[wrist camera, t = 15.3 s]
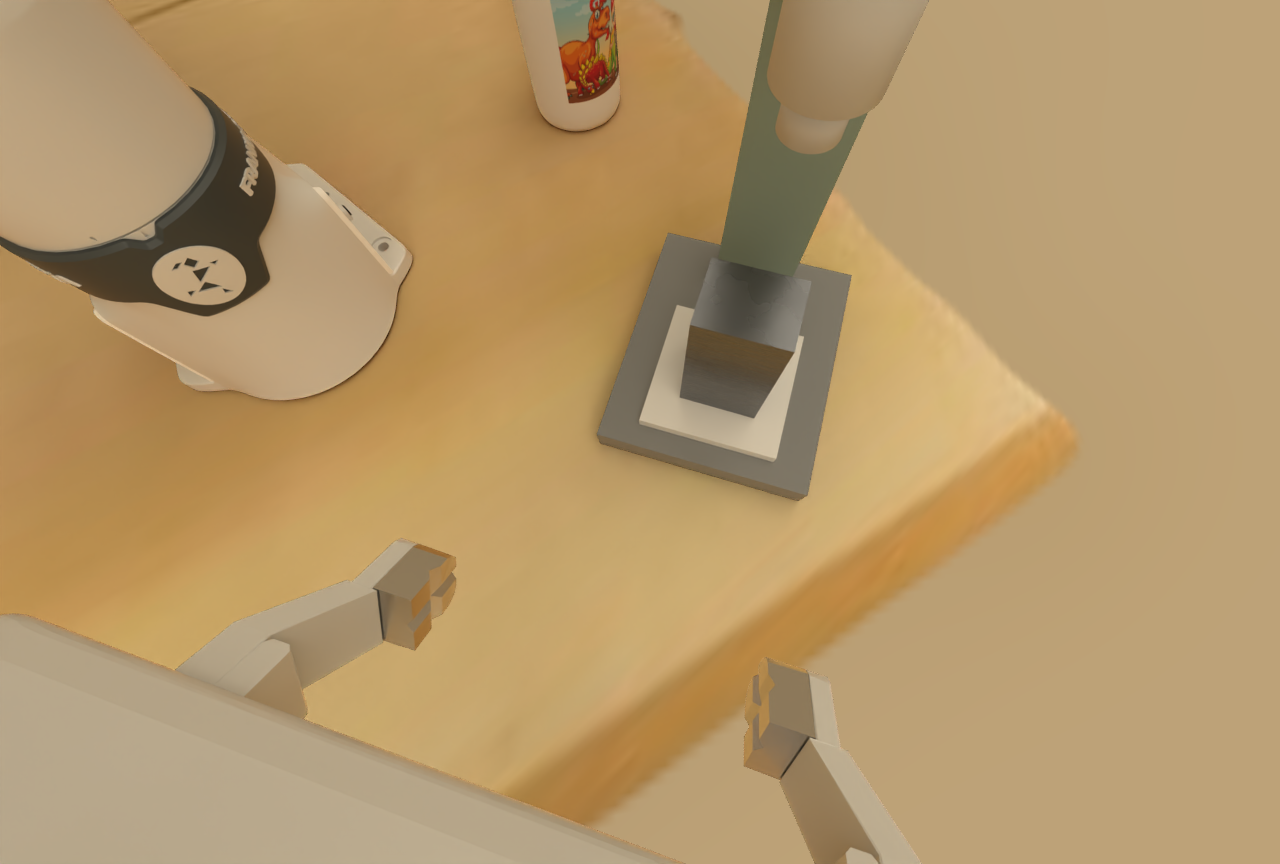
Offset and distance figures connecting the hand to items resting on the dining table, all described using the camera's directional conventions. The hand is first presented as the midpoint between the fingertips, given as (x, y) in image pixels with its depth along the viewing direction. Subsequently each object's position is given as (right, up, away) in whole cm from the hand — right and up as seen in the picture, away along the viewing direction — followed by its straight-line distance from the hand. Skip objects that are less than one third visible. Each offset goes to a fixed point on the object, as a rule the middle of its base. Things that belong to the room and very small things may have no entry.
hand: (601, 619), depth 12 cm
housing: (+7, +8, +19) cm, 22 cm away
